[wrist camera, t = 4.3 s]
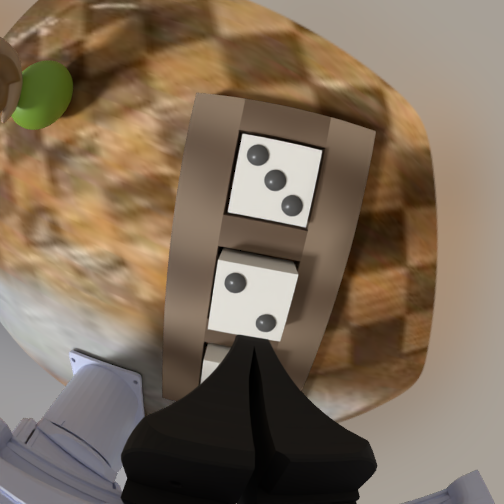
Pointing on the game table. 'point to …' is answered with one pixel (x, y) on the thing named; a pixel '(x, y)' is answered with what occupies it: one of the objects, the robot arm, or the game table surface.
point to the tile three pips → (274, 180)
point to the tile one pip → (213, 358)
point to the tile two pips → (252, 294)
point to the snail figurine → (32, 90)
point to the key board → (258, 230)
